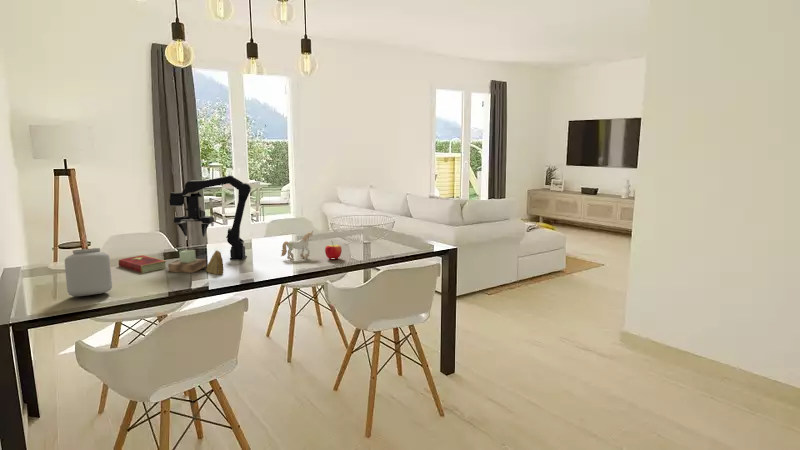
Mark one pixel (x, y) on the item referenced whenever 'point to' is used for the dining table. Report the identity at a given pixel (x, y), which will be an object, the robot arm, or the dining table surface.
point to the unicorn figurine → (297, 246)
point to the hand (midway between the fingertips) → (194, 236)
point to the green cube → (187, 256)
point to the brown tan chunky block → (215, 264)
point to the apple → (333, 251)
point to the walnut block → (187, 266)
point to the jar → (88, 272)
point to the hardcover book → (142, 263)
